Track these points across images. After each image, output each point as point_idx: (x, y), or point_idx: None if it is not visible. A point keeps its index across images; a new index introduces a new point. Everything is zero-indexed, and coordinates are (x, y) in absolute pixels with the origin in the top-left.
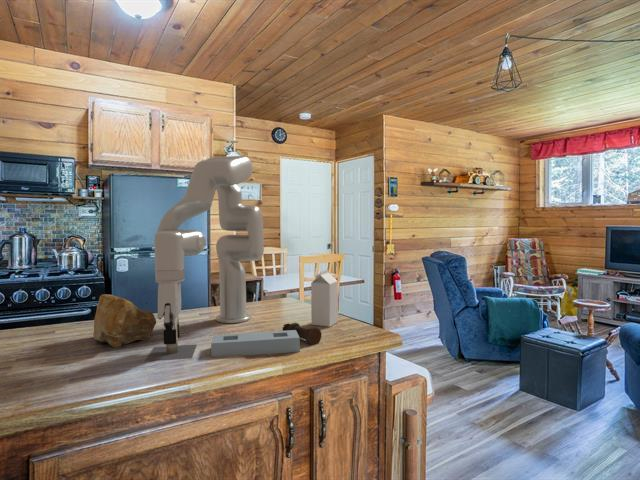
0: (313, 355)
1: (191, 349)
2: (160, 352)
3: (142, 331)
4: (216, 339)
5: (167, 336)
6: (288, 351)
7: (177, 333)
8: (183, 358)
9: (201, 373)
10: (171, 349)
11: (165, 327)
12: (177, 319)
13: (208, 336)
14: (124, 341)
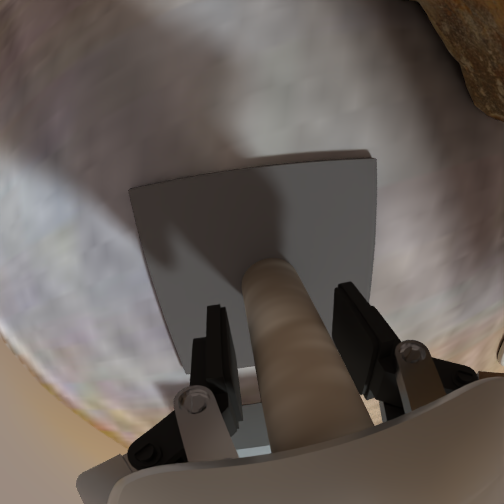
0: None
1: None
2: (277, 224)
3: (496, 88)
4: (252, 454)
5: (194, 366)
6: None
7: (341, 352)
8: (177, 351)
9: (81, 399)
10: (244, 303)
11: (153, 428)
12: (383, 422)
13: (445, 331)
14: (423, 7)
